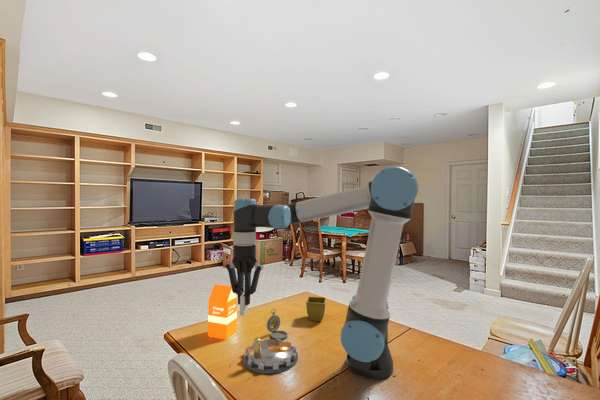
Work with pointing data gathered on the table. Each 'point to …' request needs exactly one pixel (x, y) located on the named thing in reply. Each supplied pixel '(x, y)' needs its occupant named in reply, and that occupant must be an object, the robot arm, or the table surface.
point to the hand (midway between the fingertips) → (243, 314)
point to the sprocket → (270, 354)
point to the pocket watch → (275, 327)
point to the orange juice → (222, 312)
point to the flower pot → (315, 308)
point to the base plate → (271, 371)
